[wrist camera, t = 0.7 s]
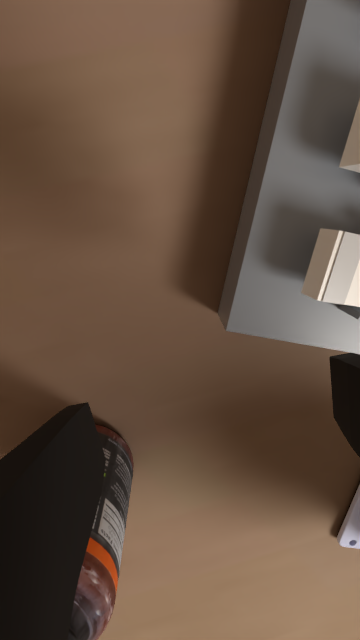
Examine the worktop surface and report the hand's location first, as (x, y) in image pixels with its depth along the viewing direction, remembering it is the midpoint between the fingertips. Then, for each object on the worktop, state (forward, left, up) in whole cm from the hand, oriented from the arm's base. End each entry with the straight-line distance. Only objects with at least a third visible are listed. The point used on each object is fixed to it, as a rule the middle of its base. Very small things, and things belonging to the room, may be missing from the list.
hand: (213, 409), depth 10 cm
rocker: (-7, -4, -5) cm, 10 cm away
